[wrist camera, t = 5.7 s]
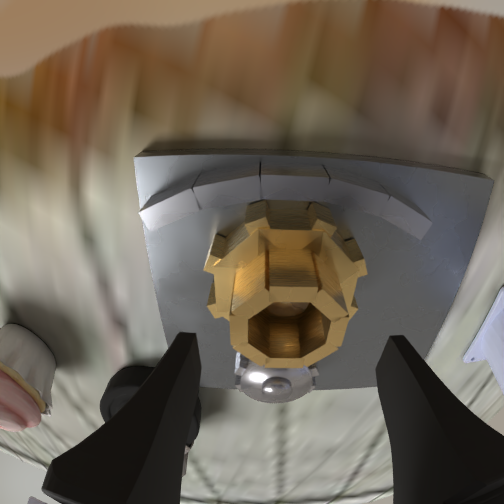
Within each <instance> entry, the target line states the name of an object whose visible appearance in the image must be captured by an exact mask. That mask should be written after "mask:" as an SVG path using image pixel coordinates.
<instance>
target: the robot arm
mask: <svg viewBox="0 0 504 504" xmlns="http://www.w3.org/2000/svg"><path fill="white" fill-rule="evenodd" d="M486 359H487V361H488V363H489V365H490V367H491V369H492V371H493V373H494V375H495V378H496V380H497V382H498V384H499V386H500V388H501V390H502V392H503V395H504V287H502V288H501V289H500V291H499V293H498V295H497V297H496V299H495V301H494V303H493V305H492V307H491V309H490V311H489V313H488V315H487V317H486V319H485V321H484V323H483V324H482V326H481V328H480V330H479V332H478V333H477V335H476V337H475V339H474V340H473V342H472V344H471V345H470V347H469V349H468V350H467V352H466V354H465V355H464V357H463V361H464V363H470V362H475V361H481V360H486ZM201 369H202V366H201V360H200V354H199V348H198V341H197V335H196V333H190V332H179V333H178V334H177V335H176V337H175V339H174V340H173V342H172V344H171V345H170V347H169V348H168V350H167V351H166V353H165V354H164V356H163V357H162V359H161V360H160V362H159V363H158V364H157V366H156V367H155V368H154V370H153V371H152V372H151V374H150V375H149V376H148V378H147V379H146V380H145V381H144V383H143V384H142V385H141V386H140V388H139V389H138V390H137V391H136V392H135V394H134V395H133V396H132V397H131V398H130V399H129V400H128V401H127V402H126V403H125V404H124V406H123V407H122V408H121V409H120V410H119V411H118V412H117V413H116V414H114V415H113V416H112V417H111V418H110V419H109V420H108V421H107V422H106V423H105V424H103V425H102V426H101V427H100V428H99V429H98V430H96V431H95V432H94V433H92V434H91V435H90V436H88V437H87V438H86V439H84V440H83V441H82V442H80V443H79V444H78V445H76V446H75V447H73V448H71V449H70V450H68V451H66V452H65V453H63V454H62V455H60V456H58V457H57V458H55V459H53V460H52V462H51V464H50V466H49V468H48V471H47V474H46V477H45V479H44V482H43V486H42V491H43V492H44V493H45V494H46V495H48V496H49V497H51V498H53V499H54V500H56V501H58V502H59V503H61V504H180V493H181V481H182V471H183V462H184V454H185V447H186V442H187V437H188V433H189V429H190V425H191V421H192V417H193V413H194V409H195V405H196V401H197V397H198V392H199V386H200V378H201ZM375 371H376V380H377V387H378V393H379V398H380V402H381V406H382V410H383V414H384V418H385V422H386V426H387V430H388V434H389V439H390V444H391V452H392V463H393V483H394V495H393V496H394V498H393V504H504V436H503V435H502V434H500V433H499V432H497V431H496V430H494V429H493V428H491V427H490V426H489V425H487V424H486V423H485V422H484V421H482V420H481V419H480V418H479V417H477V416H476V415H475V414H474V413H473V412H471V411H470V410H469V409H468V408H467V407H466V406H465V405H464V404H463V403H462V402H461V401H460V400H459V399H458V398H457V397H456V396H455V395H454V394H453V393H452V392H451V391H450V390H449V389H448V388H447V387H446V386H445V385H444V383H443V382H442V381H441V380H440V379H439V378H438V377H437V375H436V374H435V373H434V372H433V371H432V369H431V368H430V367H429V366H428V364H427V363H426V362H425V361H424V360H423V358H422V357H421V356H420V355H419V353H418V352H417V351H416V350H415V348H414V347H413V346H412V345H411V343H410V342H409V341H408V340H407V338H406V337H405V336H404V335H390V336H389V338H388V340H387V343H386V345H385V348H384V350H383V352H382V355H381V357H380V359H379V362H378V364H377V366H376V368H375ZM28 504H47V503H44V502H42V501H40V500H38V499H36V498H34V497H32V496H31V497H29V501H28Z"/></svg>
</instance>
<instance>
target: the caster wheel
mask: <svg viewBox="0 0 504 504" xmlns="http://www.w3.org/2000/svg"><path fill="white" fill-rule="evenodd" d="M153 370H154V368H153V367H144V366H135V367H129V368H126V369H123V370H120V371H119V372H117V373H116V374H115V375H114V376H113V377H112V378H111V379H110V381H109V383H108V385H107V387H106V390H105V392H104V394H103V396H102V399H101V401H100V412H101V415H102V417H103V419H104V421H105V423H106V422H107V421H108V420H109V419H110V418H111V417H112V416H113V415H114V414H116V413H117V412H118V411H119V410H120V409H121V408H122V407H123V406H124V404H125V403H126V402H127V401H128V400H129V399H130V398H131V397H132V396H133V395H134V394H135V392H136V391H137V390H138V389H139V388H140V386H141V385H142V384H143V383H144V381H145V380H146V379H147V378H148V376H149V375H150V374H151V372H152V371H153ZM200 418H201V404H200V401H199V398H198V397H197V401H196V405H195V409H194V413H193V417H192V421H191V425H190V429H189V433H188V437H187V442H186V447H185V454H184V462H183V471H182V477H183V476H184V475H185V474H186V467H187V458H188V452H189V450H190V449H191V447H192V446H193V444H194V440H195V439H196V437H197V435H198V433H199V428H200Z"/></svg>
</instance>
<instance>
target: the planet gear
mask: <svg viewBox="0 0 504 504" xmlns="http://www.w3.org/2000/svg"><path fill="white" fill-rule="evenodd" d="M336 228H337V226H336V224H335V221H334V219H333V217H332V214H331V212H330V209H328V208H326V207H324V206H322V205H319V204H317V203H315V202H313V201H312V202H311V204H310V206H309V208H308V210H295V209H269V207H268V204H267V202H266V200H263V201H260V202H257V203H254V204H251V205H248V206H247V207H246V215H245V221H244V222H243V223H241V224H240V225H239V226H238V227H237V228H236V229H235V230H233V231H232V232H231V233H230V234H229V235H228V236H227V237H225V238H224V237H222V236H219V235H216V234H215V236H214V239H213V241H212V244H211V246H210V248H209V252H208V255H207V259H206V262H205V266H204V269H203V271H206V272H209V273H212V274H214V283H212V284H211V289H210V293H209V298H208V302H207V307H208V309H209V310H210V312H211V314H212V315H213V317H214V318H215V319H216V318H220V317H224V318H225V319H227V320H228V321H229V322H230V341H231V345H233V349H235V350H236V351H238V352H239V353H241V354H242V355H244V356H245V357H247V358H248V359H250V360H251V361H253V362H254V363H256V364H258V365H259V366H263V365H265V368H303V366H304V365H305V366H306V367H308V366H310V365H312V364H314V363H315V362H317V361H319V360H321V359H323V358H324V357H326V356H328V355H330V354H331V353H333V352H335V351H337V350H338V349H339V348H338V347H340V346H341V345H342V342H343V339H344V335H345V332H346V328H347V325H348V321H349V320H350V319H351V318H352V316H353V315H354V314H355V313H356V311H357V310H358V306H357V302H356V299H355V296H354V291H355V287H356V283H357V279H358V277H361V276H364V275H368V273H367V269H366V264H365V260H364V257H363V255H362V253H361V250H360V248H359V246H358V244H357V242H356V240H355V239H352V240H348V241H344V240H343V238H342V237H341V236H340V235H339V234H338V233H337V232H336V231H335V230H336ZM273 302H309V304H308V306H307V308H306V309H305V310H304V311H303V312H301V313H299V314H297V315H294V316H290V317H282V316H278V315H275V314H273V313H272V312H270V311H269V310H268V309H267V306H269V305H270V304H272V303H273Z"/></svg>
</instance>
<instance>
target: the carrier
mask: <svg viewBox="0 0 504 504" xmlns="http://www.w3.org/2000/svg"><path fill="white" fill-rule="evenodd" d="M134 164H135V173H136V181H137V189H138V196H139V203H140V211H139V212H138V213H139V215H140V216H141V218H142V223H143V229H144V235H145V241H146V247H147V252H148V258H149V263H150V268H151V273H152V278H153V283H154V288H155V293H156V297H157V302H158V307H159V311H160V315H161V320H162V324H163V328H164V332H165V336H166V340H167V344H168V348H169V347H170V345H171V344H172V342H173V340H174V339H175V337H176V335H177V334H178V333H179V332H190V333H196V335H197V341H198V348H199V354H200V360H201V366H202V369H201V378H200V386H199V387H210V388H225V389H238V390H239V391H240V392H244V393H245V394H246V395H247V396H249V397H251V398H253V399H254V400H257V401H261V402H266V403H284V402H289V401H293V400H296V399H298V398H300V397H302V396H304V395H305V394H306V393H310V392H311V391H312V390H330V389H350V388H365V387H377V380H376V371H375V368H376V366H377V364H378V362H379V359H380V357H381V355H382V352H383V350H384V348H385V345H386V343H387V340H388V338H389V336H390V335H404V336H405V337H406V338H407V340H408V341H409V342H410V343H411V345H412V346H413V347H414V348H415V350H416V351H417V352H418V353H419V355H420V356H421V357H422V358H423V360H424V358H425V357H426V355H427V353H428V351H429V349H430V347H431V345H432V344H433V342H434V340H435V338H436V336H437V334H438V332H439V330H440V328H441V326H442V324H443V322H444V320H445V317H446V315H447V313H448V311H449V309H450V307H451V305H452V302H453V300H454V298H455V295H456V293H457V291H458V288H459V286H460V284H461V281H462V279H463V276H464V274H465V271H466V269H467V266H468V264H469V261H470V258H471V256H472V253H473V250H474V247H475V244H476V241H477V238H478V235H479V232H480V229H481V226H482V223H483V220H484V217H485V213H486V210H487V206H488V203H489V199H490V195H491V192H492V188H493V184H494V180H493V179H491V178H490V177H488V176H487V175H485V174H482V173H477V172H472V171H466V170H461V169H455V168H450V167H444V166H438V165H431V164H425V163H418V162H411V161H404V160H396V159H388V158H379V157H370V156H360V155H349V154H338V153H324V152H309V151H290V150H261V149H193V150H164V151H145V152H140V153H139V154H138V155H136V156H135V157H134ZM263 200H266V202H267V204H268V207H269V209H295V210H308V208H309V206H310V204H311V202H312V201H313V202H315V203H317V204H319V205H322V206H324V207H326V208H328V209H330V212H331V214H332V217H333V219H334V221H335V224H336V226H337V228H336V230H335V231H336V232H337V233H338V234H339V235H340V236H341V237H342V238H343V240H344V241H348V240H352V239H355V240H356V242H357V244H358V246H359V248H360V250H361V253H362V255H363V257H364V260H365V264H366V269H367V273H368V275H364V276H361V277H358V279H357V283H356V287H355V291H354V296H355V299H356V302H357V306H358V310H357V311H356V313H355V314H354V315H353V316H352V318H351V319H350V320H349V321H348V325H347V328H346V332H345V335H344V339H343V342H342V345H341V346H340V347H338V348H339V349H338V350H337V351H335V352H333V353H331V354H330V355H328V356H326V357H324V358H323V359H321V360H319V361H317V362H315V363H314V364H312V365H310V366H308V367H306V366H305V365H304V366H303V368H265V365H263V366H259V365H258V364H256V363H254V362H253V361H251V360H250V359H248V358H247V357H245V356H244V355H242V354H241V353H239V352H238V351H236V350H235V349H233V345H231V341H230V322H229V321H228V320H227V319H225V318H224V317H220V318H216V319H215V318H214V317H213V315H212V314H211V312H210V310H209V309H208V307H207V302H208V298H209V293H210V289H211V284H212V283H214V274H212V273H209V272H206V271H203V269H204V266H205V262H206V259H207V255H208V252H209V248H210V246H211V244H212V241H213V239H214V236H215V234H216V235H219V236H222V237H224V238H225V237H227V236H228V235H229V234H230V233H231V232H232V231H233V230H235V229H236V228H237V227H238V226H239V225H240V224H241V223H243V222H244V221H245V215H246V207H247V206H248V205H251V204H254V203H257V202H260V201H263ZM308 304H309V302H273V303H272V304H270V305H269V306H267V309H268V310H269V311H270V312H272V313H273V314H275V315H278V316H282V317H290V316H294V315H297V314H299V313H301V312H303V311H304V310H305V309H306V308H307V306H308Z"/></svg>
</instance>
